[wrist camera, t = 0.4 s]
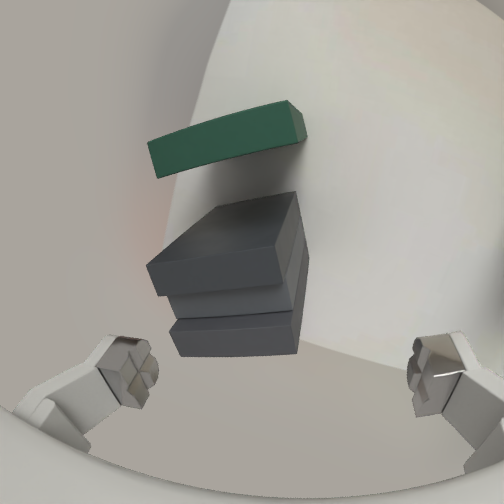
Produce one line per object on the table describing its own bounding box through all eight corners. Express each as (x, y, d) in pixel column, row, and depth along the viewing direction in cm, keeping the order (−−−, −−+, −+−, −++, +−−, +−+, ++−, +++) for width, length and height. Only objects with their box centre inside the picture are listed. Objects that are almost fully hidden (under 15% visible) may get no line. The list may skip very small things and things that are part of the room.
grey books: (215, 206, 33) (141, 268, 19) (295, 191, 30) (273, 248, 16) (233, 268, 36) (180, 356, 22) (309, 258, 33) (297, 354, 19)
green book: (217, 133, 30) (146, 142, 17) (301, 113, 27) (287, 99, 14) (223, 155, 30) (156, 179, 18) (307, 137, 28) (298, 143, 15)
